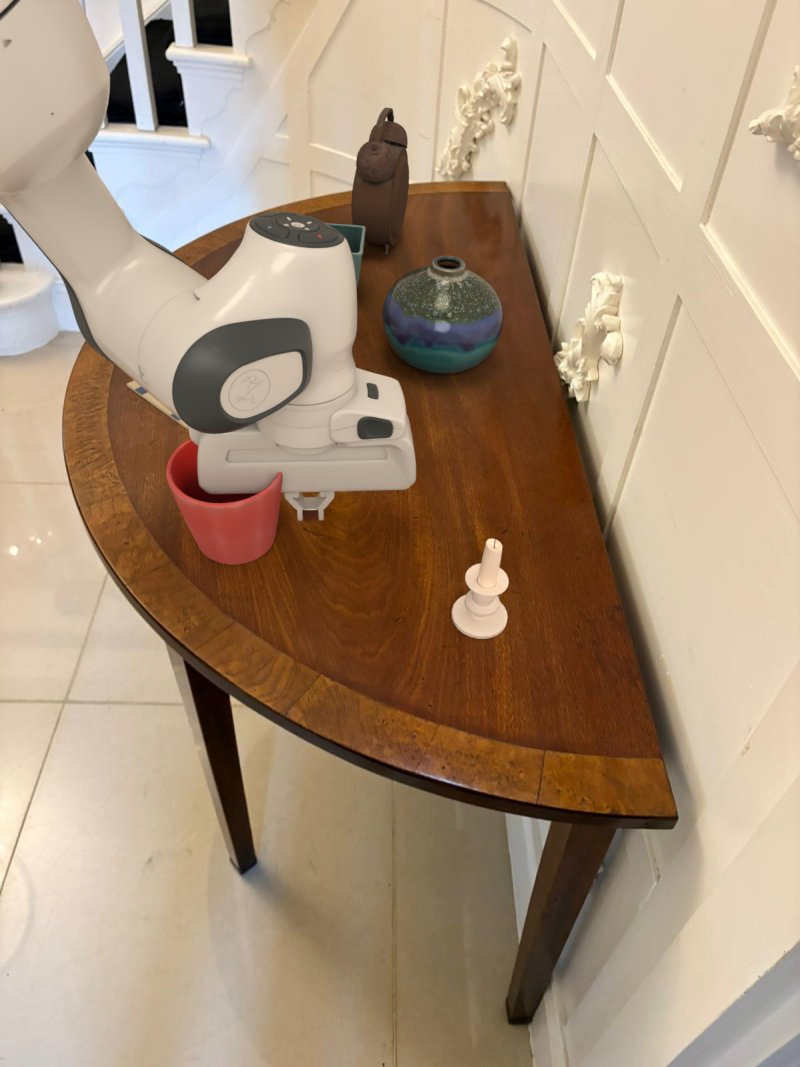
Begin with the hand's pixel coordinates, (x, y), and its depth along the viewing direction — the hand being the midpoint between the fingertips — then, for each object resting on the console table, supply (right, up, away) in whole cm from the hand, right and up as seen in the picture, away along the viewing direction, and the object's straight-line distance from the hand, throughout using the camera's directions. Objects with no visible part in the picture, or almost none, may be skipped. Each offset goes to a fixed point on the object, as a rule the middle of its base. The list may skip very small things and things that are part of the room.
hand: (310, 516), depth 78 cm
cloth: (-13, +18, +20) cm, 30 cm away
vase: (+14, +21, +26) cm, 37 cm away
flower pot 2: (-1, +33, +36) cm, 49 cm away
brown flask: (+5, +45, +48) cm, 66 cm away
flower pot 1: (-7, -2, +1) cm, 8 cm away
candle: (+16, -10, -5) cm, 20 cm away
